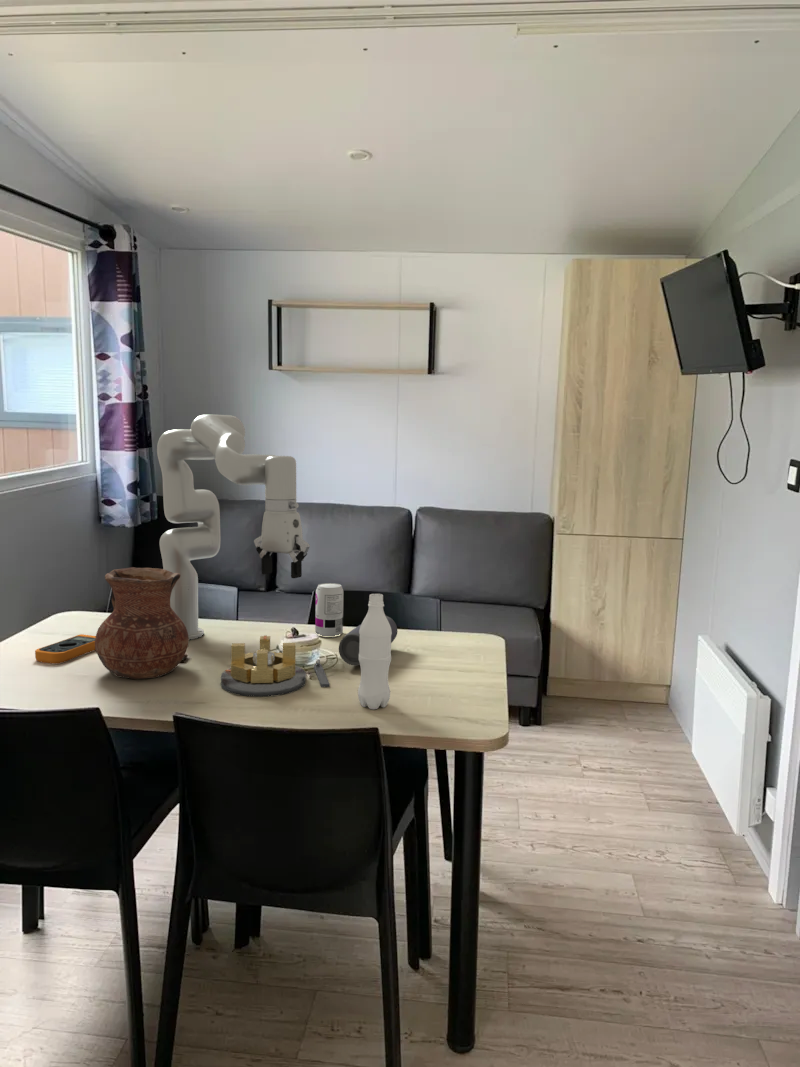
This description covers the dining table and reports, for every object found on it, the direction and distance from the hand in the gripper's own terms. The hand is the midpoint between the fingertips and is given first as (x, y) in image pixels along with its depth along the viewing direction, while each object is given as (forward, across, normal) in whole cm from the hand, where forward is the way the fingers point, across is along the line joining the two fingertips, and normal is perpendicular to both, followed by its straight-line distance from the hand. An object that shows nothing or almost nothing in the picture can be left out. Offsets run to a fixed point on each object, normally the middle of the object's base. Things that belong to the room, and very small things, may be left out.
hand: (281, 575), depth 187 cm
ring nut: (+22, -2, +9) cm, 24 cm away
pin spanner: (+25, -10, -4) cm, 27 cm away
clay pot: (+24, +27, +20) cm, 42 cm away
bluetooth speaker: (+25, -10, -23) cm, 36 cm away
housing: (+25, -2, +9) cm, 26 cm away
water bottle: (+26, -32, +5) cm, 41 cm away
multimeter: (+24, +55, +23) cm, 64 cm away
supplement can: (+24, +14, -36) cm, 46 cm away
